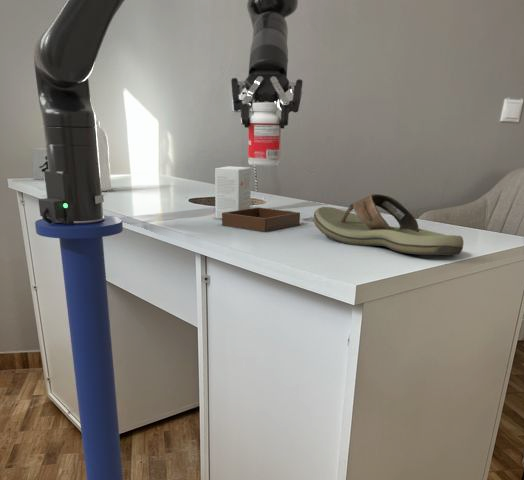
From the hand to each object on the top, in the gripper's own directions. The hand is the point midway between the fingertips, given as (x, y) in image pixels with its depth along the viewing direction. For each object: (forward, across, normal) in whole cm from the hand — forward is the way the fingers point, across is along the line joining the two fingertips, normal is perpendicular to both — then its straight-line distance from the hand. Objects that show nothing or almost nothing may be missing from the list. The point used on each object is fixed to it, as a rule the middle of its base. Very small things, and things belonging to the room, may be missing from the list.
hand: (264, 124), depth 103 cm
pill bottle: (+4, 0, +6) cm, 8 cm away
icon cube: (-52, -81, +80) cm, 125 cm away
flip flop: (+23, +22, +4) cm, 32 cm away
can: (-28, -55, +56) cm, 83 cm away
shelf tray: (+11, 0, +17) cm, 20 cm away
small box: (+4, -7, +24) cm, 25 cm away
